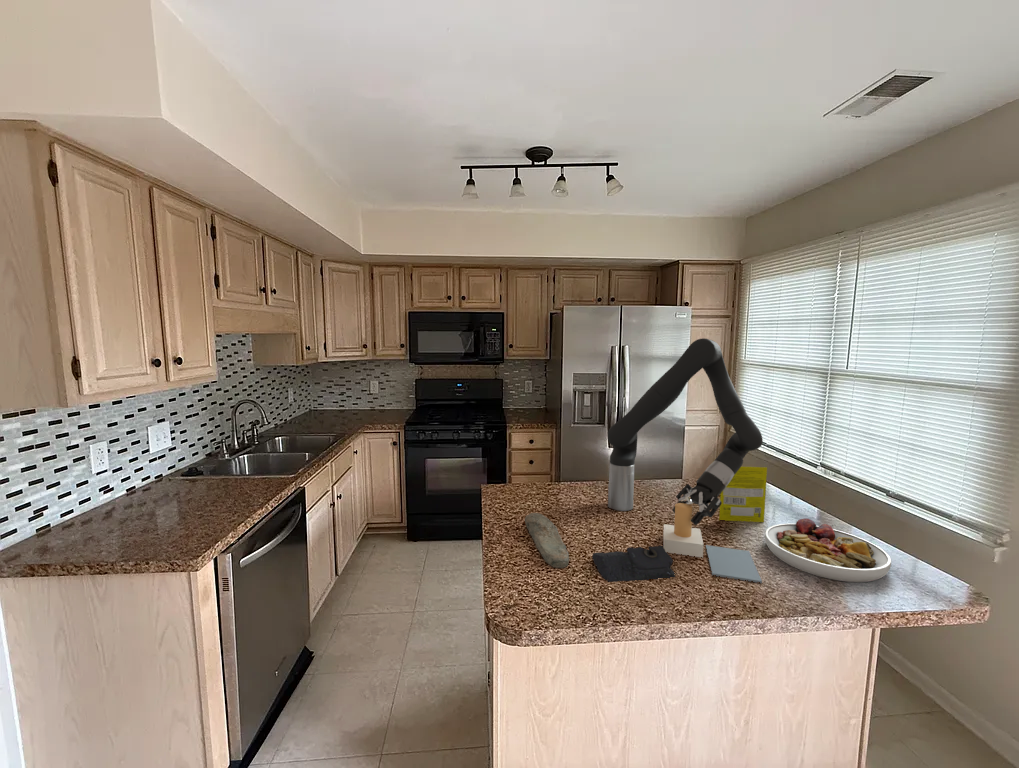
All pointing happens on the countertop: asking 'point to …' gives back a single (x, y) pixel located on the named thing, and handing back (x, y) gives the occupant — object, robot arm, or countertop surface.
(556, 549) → the long grey stone
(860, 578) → the bowl
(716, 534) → the countertop surface
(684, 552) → the white square block
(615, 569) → the black flat bumpy piece
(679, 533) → the tan rounded cylinder
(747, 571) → the mat
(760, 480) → the food package
